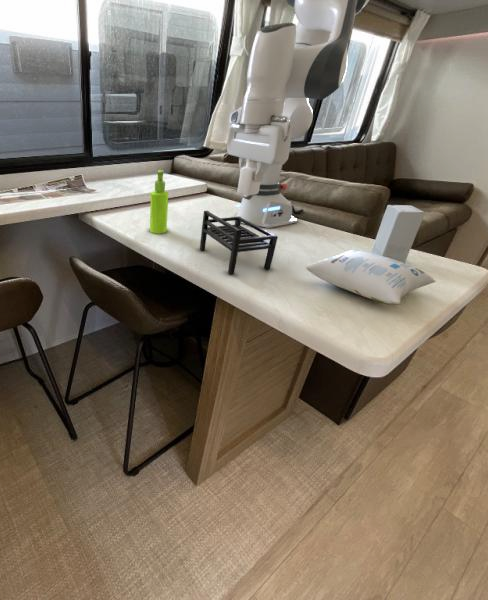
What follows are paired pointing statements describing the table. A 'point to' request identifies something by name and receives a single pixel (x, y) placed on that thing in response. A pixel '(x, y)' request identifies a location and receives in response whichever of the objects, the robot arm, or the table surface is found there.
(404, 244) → the cosmetic box
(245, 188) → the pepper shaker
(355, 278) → the pouch
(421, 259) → the table surface
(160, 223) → the soap dispenser
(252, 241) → the rack
